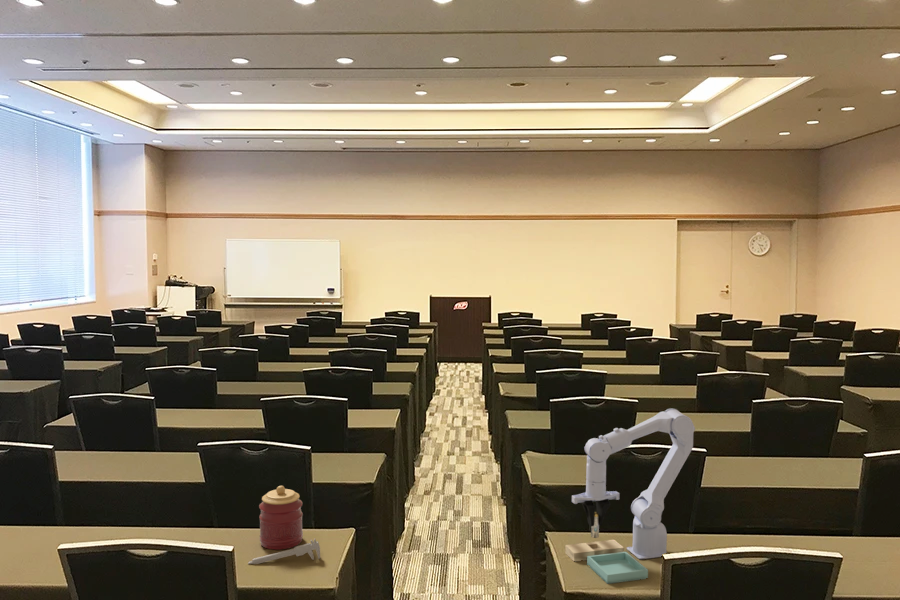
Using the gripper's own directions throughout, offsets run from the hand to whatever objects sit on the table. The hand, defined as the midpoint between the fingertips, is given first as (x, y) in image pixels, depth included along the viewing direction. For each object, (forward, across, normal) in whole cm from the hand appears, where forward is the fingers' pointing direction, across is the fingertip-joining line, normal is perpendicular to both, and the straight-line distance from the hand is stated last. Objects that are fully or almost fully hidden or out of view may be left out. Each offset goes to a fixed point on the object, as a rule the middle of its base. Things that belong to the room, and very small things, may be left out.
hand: (595, 524), depth 222 cm
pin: (+4, 0, 0) cm, 4 cm away
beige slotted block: (+9, 0, 0) cm, 9 cm away
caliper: (+10, +89, -19) cm, 92 cm away
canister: (+9, +89, -33) cm, 96 cm away
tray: (+9, -1, +12) cm, 15 cm away
